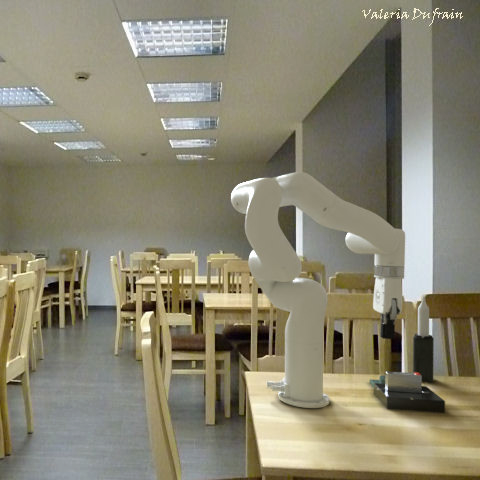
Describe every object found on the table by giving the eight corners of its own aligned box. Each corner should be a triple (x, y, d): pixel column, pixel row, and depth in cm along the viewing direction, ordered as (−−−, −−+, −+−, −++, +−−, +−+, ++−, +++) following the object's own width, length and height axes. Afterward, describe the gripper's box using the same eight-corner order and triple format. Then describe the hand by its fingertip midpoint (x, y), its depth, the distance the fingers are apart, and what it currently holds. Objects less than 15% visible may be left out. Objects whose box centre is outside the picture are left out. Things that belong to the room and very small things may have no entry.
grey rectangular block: (387, 391, 113) (387, 372, 113) (385, 388, 115) (385, 370, 115) (421, 393, 112) (421, 374, 112) (418, 390, 114) (418, 372, 114)
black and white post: (412, 380, 132) (413, 296, 132) (414, 376, 136) (414, 295, 136) (432, 383, 129) (433, 298, 129) (433, 379, 133) (434, 296, 133)
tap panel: (385, 409, 108) (385, 397, 108) (370, 393, 120) (370, 381, 120) (445, 414, 106) (446, 401, 106) (425, 396, 118) (425, 384, 118)
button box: (377, 392, 121) (378, 381, 121) (369, 383, 129) (369, 373, 129) (417, 395, 119) (417, 384, 119) (406, 385, 127) (406, 375, 127)
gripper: (367, 270, 131) (365, 332, 131) (383, 273, 117) (381, 343, 117) (394, 271, 130) (392, 334, 130) (413, 274, 115) (412, 345, 115)
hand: (387, 338), depth 123 cm, fingers closed
